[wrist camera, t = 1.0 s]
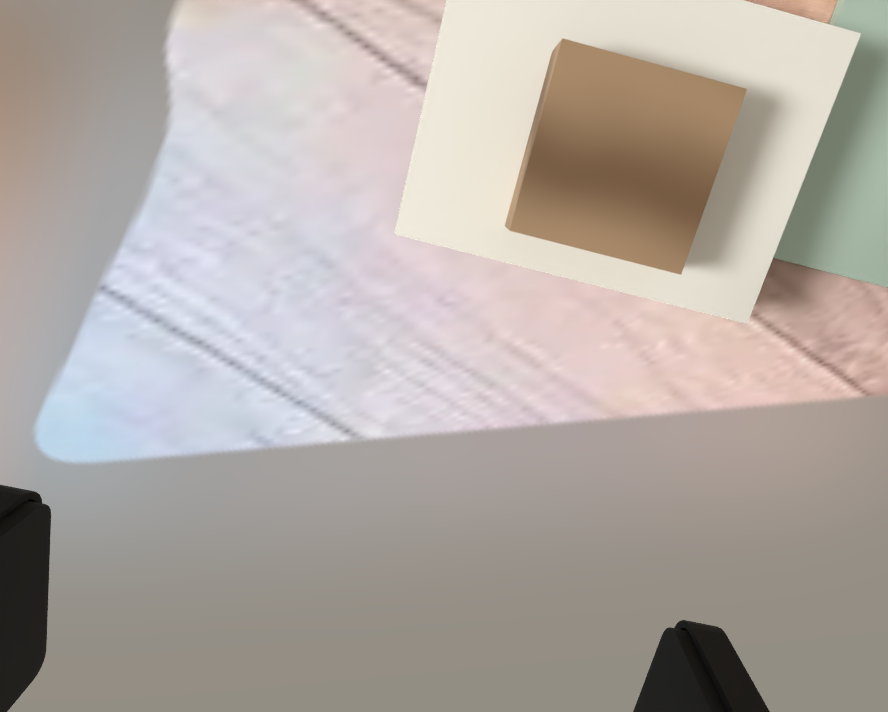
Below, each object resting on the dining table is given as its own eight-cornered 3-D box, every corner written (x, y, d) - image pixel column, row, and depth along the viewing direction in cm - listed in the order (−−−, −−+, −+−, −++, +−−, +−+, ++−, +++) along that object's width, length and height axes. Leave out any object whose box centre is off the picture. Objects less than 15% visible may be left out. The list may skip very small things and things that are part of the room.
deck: (462, -44, 28) (464, -79, 24) (806, 52, 29) (861, 33, 25) (401, 226, 31) (393, 234, 27) (711, 305, 32) (747, 324, 28)
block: (552, 51, 25) (562, 38, 23) (719, 96, 26) (747, 89, 23) (504, 225, 27) (509, 230, 25) (661, 266, 27) (681, 274, 25)
